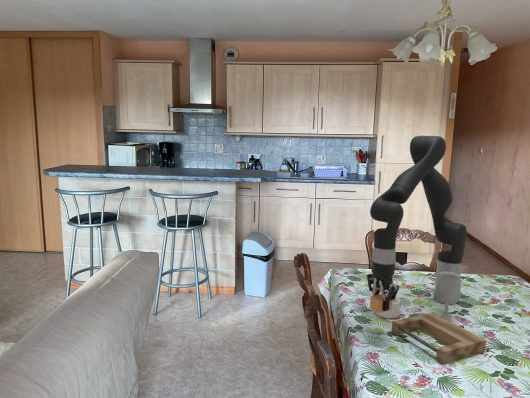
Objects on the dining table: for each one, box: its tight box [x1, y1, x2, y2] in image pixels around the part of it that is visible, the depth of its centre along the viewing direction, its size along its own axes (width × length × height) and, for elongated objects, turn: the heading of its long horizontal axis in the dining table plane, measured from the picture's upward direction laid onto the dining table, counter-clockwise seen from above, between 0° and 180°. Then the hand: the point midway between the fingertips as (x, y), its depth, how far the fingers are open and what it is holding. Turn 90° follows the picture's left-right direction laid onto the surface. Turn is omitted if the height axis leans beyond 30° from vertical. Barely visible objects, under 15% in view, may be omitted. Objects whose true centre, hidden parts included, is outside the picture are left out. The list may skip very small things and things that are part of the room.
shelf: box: [390, 312, 487, 365], centre depth 139 cm, size 19×22×4 cm
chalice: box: [439, 272, 462, 323], centre depth 153 cm, size 7×7×18 cm
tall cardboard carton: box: [369, 293, 392, 314], centre depth 142 cm, size 6×4×4 cm, turn 115°
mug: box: [373, 296, 401, 320], centre depth 160 cm, size 12×10×6 cm
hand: (380, 307), depth 142 cm, fingers closed on tall cardboard carton, 4 cm apart
